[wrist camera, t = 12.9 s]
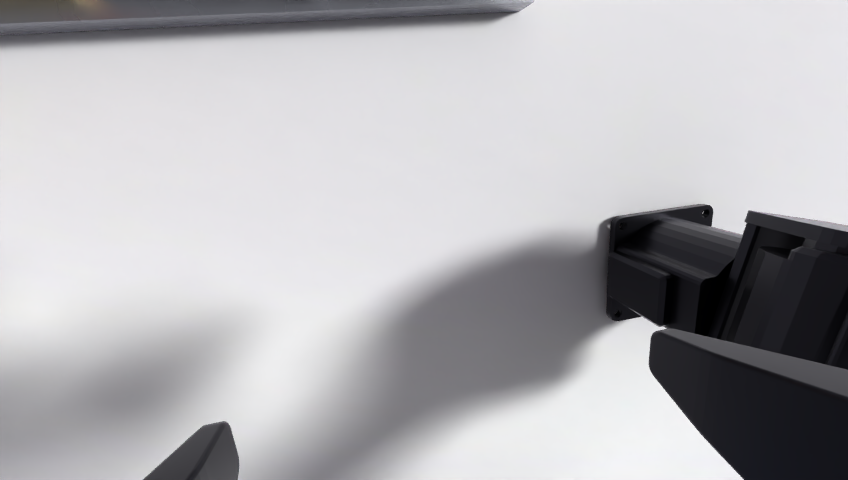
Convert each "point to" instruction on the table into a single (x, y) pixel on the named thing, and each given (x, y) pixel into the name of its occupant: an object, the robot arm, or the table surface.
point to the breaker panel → (217, 12)
